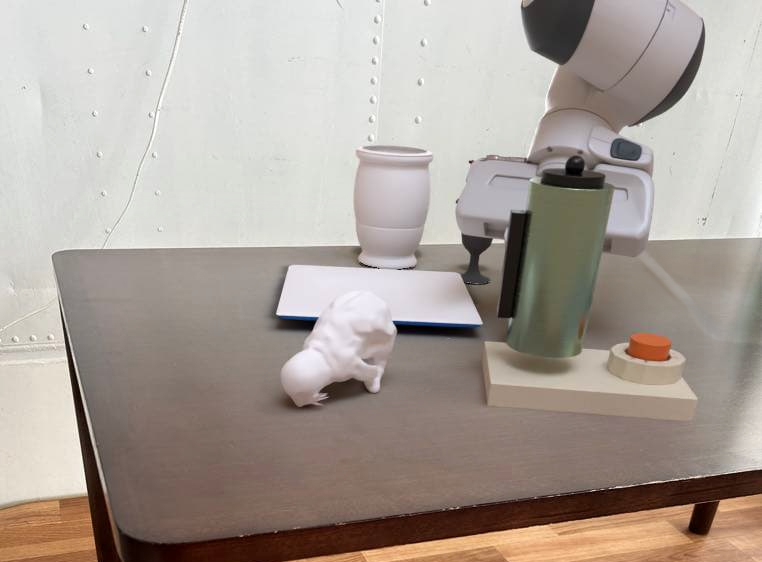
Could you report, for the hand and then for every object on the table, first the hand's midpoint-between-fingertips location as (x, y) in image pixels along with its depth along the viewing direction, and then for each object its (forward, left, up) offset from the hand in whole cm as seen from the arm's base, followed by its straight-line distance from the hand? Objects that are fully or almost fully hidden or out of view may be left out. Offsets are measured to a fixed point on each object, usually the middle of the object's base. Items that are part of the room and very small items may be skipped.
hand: (534, 275), depth 84 cm
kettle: (0, +11, -3) cm, 12 cm away
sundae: (+5, -28, -8) cm, 29 cm away
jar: (+17, -34, -8) cm, 38 cm away
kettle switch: (-10, +12, -4) cm, 16 cm away
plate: (+17, -11, -8) cm, 21 cm away
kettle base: (-4, +12, -7) cm, 15 cm away
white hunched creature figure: (+19, +18, -8) cm, 27 cm away
